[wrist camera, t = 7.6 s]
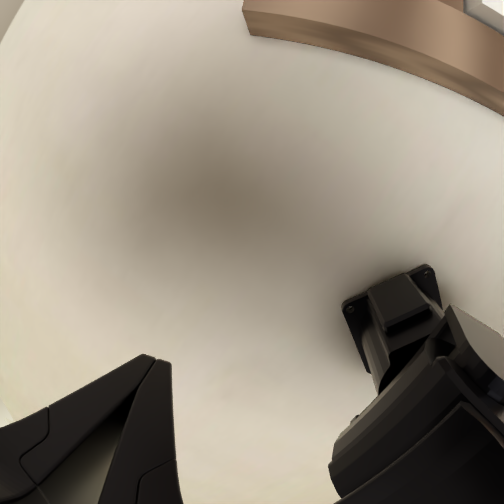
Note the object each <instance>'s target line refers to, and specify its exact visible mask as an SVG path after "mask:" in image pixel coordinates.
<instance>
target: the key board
mask: <svg viewBox="0 0 504 504" xmlns="http://www.w3.org/2000/svg"><path fill="white" fill-rule="evenodd" d="M242 12H243V15H244V18H245V20H246V23H247V26H248V29H249V32H250V35H256V36H264V37H270V38H277V39H283V40H289V41H294V42H300V43H305V44H310V45H314V46H319V47H323V48H328V49H332V50H336V51H340V52H344V53H348V54H351V55H355V56H359V57H362V58H366V59H369V60H372V61H376V62H379V63H382V64H385V65H388V66H391V67H394V68H397V69H400V70H403V71H405V72H408V73H411V74H414V75H416V76H419V77H421V78H424V79H427V80H429V81H432V82H434V83H436V84H439V85H441V86H443V87H446V88H448V89H450V90H453V91H455V92H457V93H459V94H461V95H464V96H466V97H468V98H470V99H472V100H474V101H476V102H478V103H480V104H482V105H484V106H486V107H488V108H490V109H491V110H493V111H495V112H497V113H499V114H501V115H502V116H504V36H503V35H501V34H500V33H498V32H497V31H495V30H493V29H492V28H490V27H488V26H486V25H485V24H483V23H481V22H479V21H478V20H476V19H474V18H472V17H470V16H468V15H466V14H465V13H463V0H244V2H243V6H242Z"/></svg>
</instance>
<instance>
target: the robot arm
mask: <svg viewBox="0 0 504 504" xmlns="http://www.w3.org/2000/svg"><path fill="white" fill-rule="evenodd" d="M426 271H429V273H428V274H427V275H425V276H424V274H425V272H426ZM349 306H352V307H353V308H352V309H351V310H346V309H347V308H348V307H349ZM341 308H342V312H343V314H344V317H345V319H346V322H347V324H348V326H349V329H350V331H351V334H352V336H353V339H354V341H355V343H356V346H357V348H358V351H359V353H360V356H361V358H362V361H363V363H364V366H365V368H366V371H367V372H368V373H370V374H372V378H373V381H374V384H375V388H376V391H377V394H378V396H377V397H376V398H375V399H374V400H373V402H372V403H371V404H370V405H369V406H368V407H367V408H366V409H365V410H364V411H363V412H362V413H361V414H360V415H356V416H355V417H354V418H353V419H352V420H351V423H350V425H349V426H348V427H347V428H346V429H345V430H344V431H343V432H342V433H341V434H340V435H339V437H338V439H337V440H336V442H335V443H334V448H333V455H332V461H331V462H330V463H329V464H328V468H329V473H330V477H331V480H332V483H333V485H334V487H335V489H336V491H337V493H338V495H339V496H340V497H341V499H340V500H339V501H337V502H335V503H334V504H504V338H503V337H502V336H501V335H500V334H499V333H498V332H496V331H494V330H493V329H491V328H490V327H488V326H486V325H485V324H483V323H482V322H480V321H478V320H477V319H475V318H473V317H472V316H470V315H469V314H467V313H465V312H464V311H462V310H460V309H459V308H457V307H455V306H454V305H452V304H450V305H449V306H448V308H447V309H446V311H445V312H443V309H442V304H441V299H440V294H439V290H438V285H437V281H436V277H435V272H434V270H433V268H432V267H431V266H429V265H423V266H421V267H419V268H417V269H415V270H413V271H411V272H409V273H407V274H404V273H403V274H401V275H398V276H396V277H394V278H392V279H390V280H388V281H385V282H383V283H381V284H379V285H377V286H374V287H372V288H370V289H369V290H368V291H367V292H365V293H363V294H360V295H358V296H356V297H353V298H351V299H349V300H346V301H345V302H344V303H343V304H342V307H341ZM0 504H183V500H182V496H181V492H180V486H179V479H178V471H177V461H176V448H175V434H174V417H173V395H172V365H171V363H170V362H168V361H164V360H161V359H157V360H156V358H155V357H152V356H149V355H146V354H141V355H139V356H137V357H135V358H134V359H132V360H130V361H128V362H127V363H125V364H123V365H121V366H120V367H118V368H116V369H114V370H113V371H111V372H109V373H107V374H105V375H104V376H102V377H100V378H98V379H97V380H95V381H93V382H91V383H89V384H88V385H86V386H84V387H82V388H80V389H78V390H77V391H75V392H73V393H71V394H69V395H67V396H66V397H64V398H62V399H60V400H58V401H56V402H55V403H53V404H51V405H49V408H48V407H45V408H43V409H41V410H39V411H38V412H36V413H34V414H31V415H29V416H27V417H25V418H23V419H21V420H19V421H16V422H14V423H11V424H9V425H7V426H4V427H1V428H0Z"/></svg>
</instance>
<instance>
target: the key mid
mask: <svg viewBox="0 0 504 504" xmlns="http://www.w3.org/2000/svg"><path fill="white" fill-rule="evenodd" d="M463 13H465V14H466V15H468V16H470V17H472V18H474V19H476V20H478V21H479V22H481V23H483V24H485V25H486V26H488V27H490V28H492V29H493V30H495V31H497V32H498V33H500V34H501V35H503V36H504V0H463Z"/></svg>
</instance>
